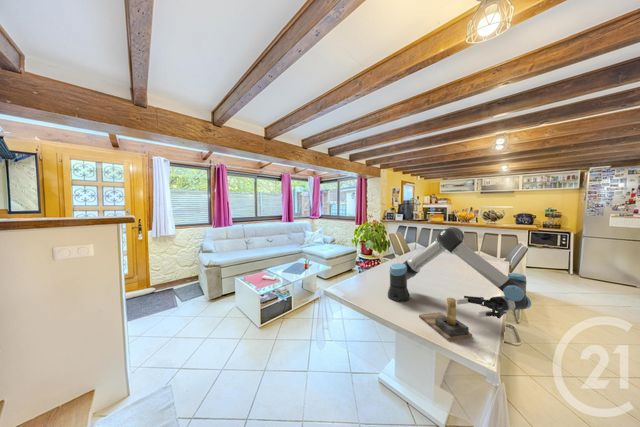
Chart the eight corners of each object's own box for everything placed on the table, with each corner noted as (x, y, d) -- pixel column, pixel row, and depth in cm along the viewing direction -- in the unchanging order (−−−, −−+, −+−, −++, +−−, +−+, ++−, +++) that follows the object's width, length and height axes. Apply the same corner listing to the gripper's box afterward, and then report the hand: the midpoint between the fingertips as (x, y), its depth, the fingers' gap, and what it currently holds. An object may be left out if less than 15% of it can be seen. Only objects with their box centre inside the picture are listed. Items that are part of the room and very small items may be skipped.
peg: (445, 327, 111) (444, 298, 110) (451, 326, 111) (451, 297, 111) (451, 332, 107) (450, 301, 106) (457, 331, 107) (457, 300, 107)
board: (419, 317, 124) (419, 309, 124) (440, 314, 126) (440, 306, 126) (447, 340, 102) (447, 330, 102) (472, 337, 105) (472, 327, 105)
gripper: (527, 323, 102) (490, 328, 98) (480, 300, 126) (449, 303, 123) (527, 308, 101) (490, 312, 98) (480, 288, 126) (449, 291, 122)
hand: (467, 307), depth 110 cm, fingers open, 13 cm apart
